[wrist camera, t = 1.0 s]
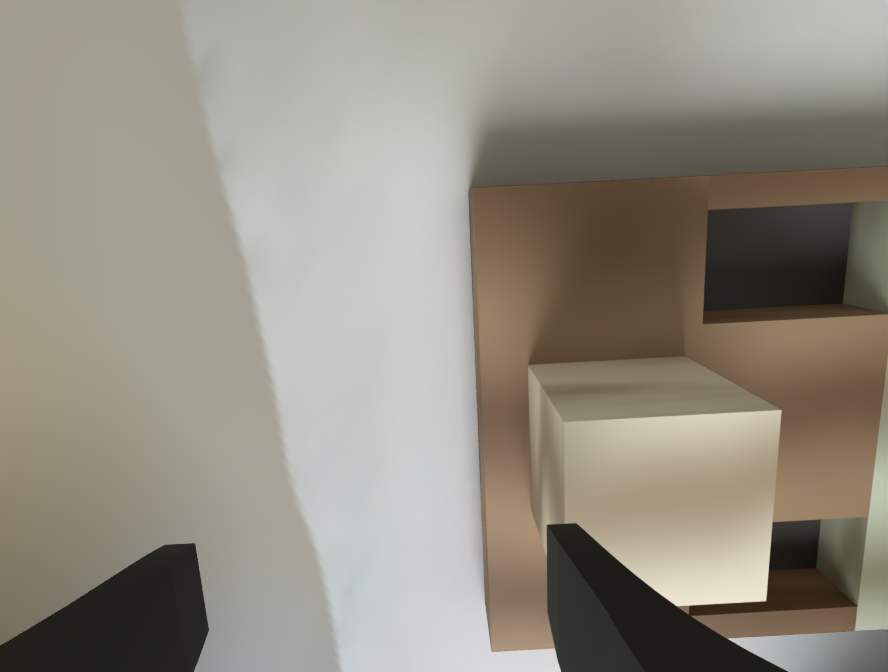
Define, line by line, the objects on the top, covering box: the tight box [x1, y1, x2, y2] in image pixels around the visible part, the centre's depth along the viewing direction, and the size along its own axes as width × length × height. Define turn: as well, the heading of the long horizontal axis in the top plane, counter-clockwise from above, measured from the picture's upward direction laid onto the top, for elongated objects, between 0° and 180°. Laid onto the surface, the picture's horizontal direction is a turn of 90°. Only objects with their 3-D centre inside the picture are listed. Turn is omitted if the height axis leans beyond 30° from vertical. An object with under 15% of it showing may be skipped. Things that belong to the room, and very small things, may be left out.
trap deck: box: [468, 166, 888, 652], centre depth 19 cm, size 16×20×2 cm
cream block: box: [528, 356, 782, 606], centre depth 16 cm, size 5×5×5 cm
